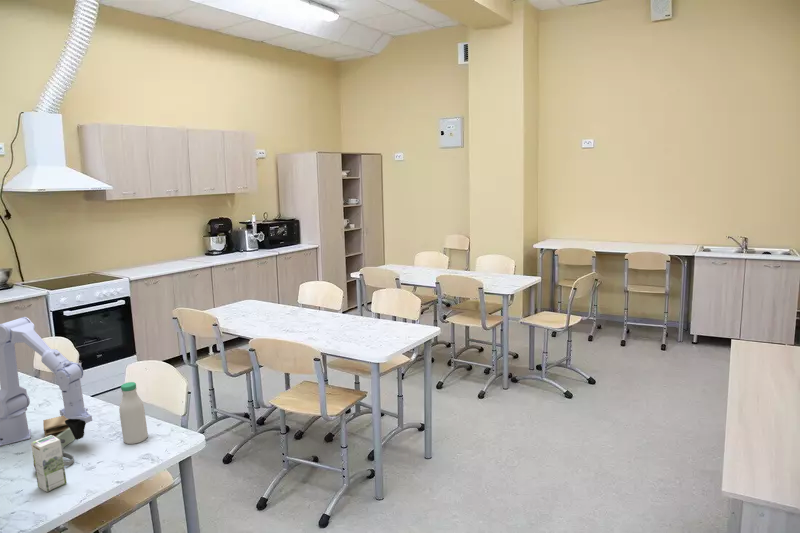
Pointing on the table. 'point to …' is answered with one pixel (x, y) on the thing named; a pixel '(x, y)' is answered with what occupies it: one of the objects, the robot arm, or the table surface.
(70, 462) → the ceramic mug
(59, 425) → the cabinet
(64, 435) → the door
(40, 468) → the syrup box
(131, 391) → the milk bottle
